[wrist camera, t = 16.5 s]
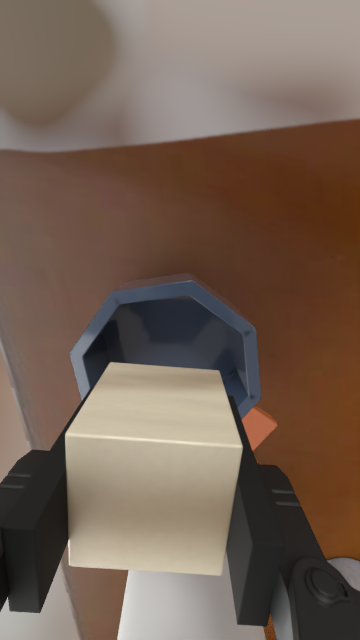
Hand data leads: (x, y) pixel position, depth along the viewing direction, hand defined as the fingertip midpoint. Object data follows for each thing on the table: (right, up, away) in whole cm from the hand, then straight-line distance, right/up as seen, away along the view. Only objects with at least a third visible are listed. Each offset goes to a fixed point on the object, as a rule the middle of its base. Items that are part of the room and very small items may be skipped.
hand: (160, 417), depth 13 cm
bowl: (+1, +2, +9) cm, 9 cm away
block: (0, 0, 0) cm, 0 cm away
